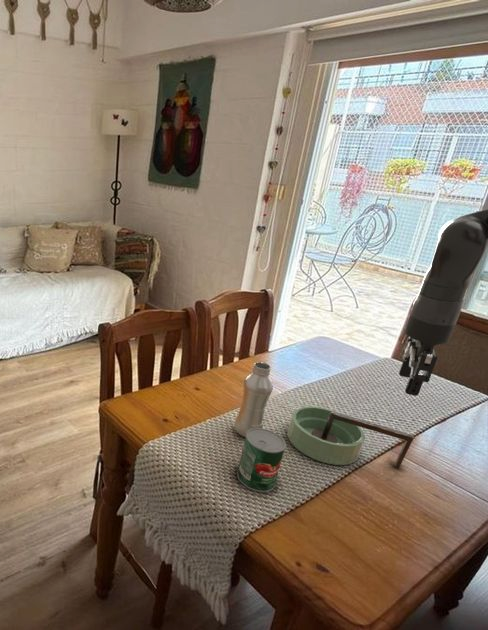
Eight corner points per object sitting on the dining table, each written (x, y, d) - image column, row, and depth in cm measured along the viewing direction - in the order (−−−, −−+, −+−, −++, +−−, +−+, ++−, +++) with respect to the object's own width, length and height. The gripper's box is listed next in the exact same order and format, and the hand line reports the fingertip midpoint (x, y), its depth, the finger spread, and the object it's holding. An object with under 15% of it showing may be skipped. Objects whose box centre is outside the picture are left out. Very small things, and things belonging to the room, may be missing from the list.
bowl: (355, 437, 112) (362, 417, 110) (359, 475, 100) (367, 454, 97) (288, 418, 119) (293, 399, 117) (285, 452, 106) (290, 432, 104)
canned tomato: (247, 461, 103) (256, 423, 98) (280, 480, 98) (292, 440, 93) (230, 478, 98) (239, 438, 93) (265, 498, 92) (276, 457, 88)
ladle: (309, 445, 108) (320, 414, 104) (309, 432, 112) (320, 403, 109) (400, 475, 100) (415, 443, 96) (396, 460, 105) (411, 429, 101)
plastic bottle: (239, 422, 117) (254, 356, 109) (265, 434, 112) (282, 366, 104) (228, 432, 112) (242, 364, 105) (254, 445, 108) (271, 375, 100)
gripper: (465, 333, 82) (435, 406, 88) (447, 309, 94) (422, 374, 100) (416, 325, 85) (391, 395, 92) (405, 302, 97) (383, 366, 103)
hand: (407, 384), depth 96 cm, fingers open, 8 cm apart
